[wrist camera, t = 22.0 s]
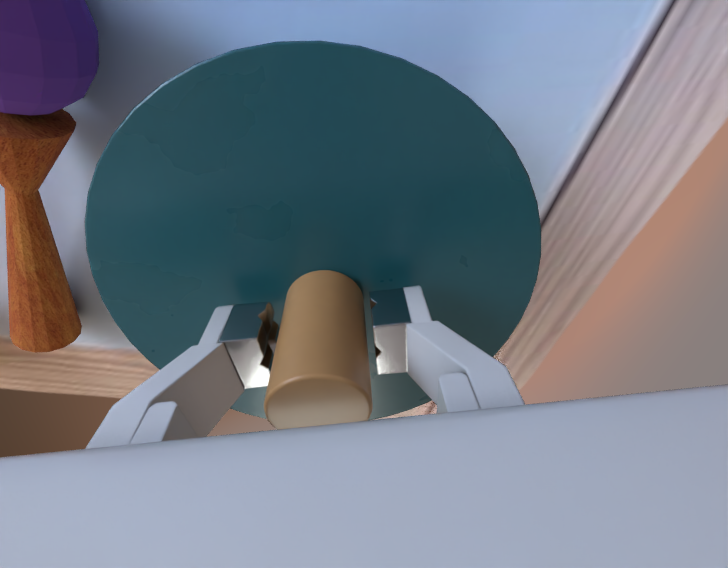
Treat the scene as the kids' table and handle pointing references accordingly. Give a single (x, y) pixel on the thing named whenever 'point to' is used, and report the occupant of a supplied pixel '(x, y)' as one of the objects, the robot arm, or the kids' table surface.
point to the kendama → (39, 155)
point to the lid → (311, 218)
